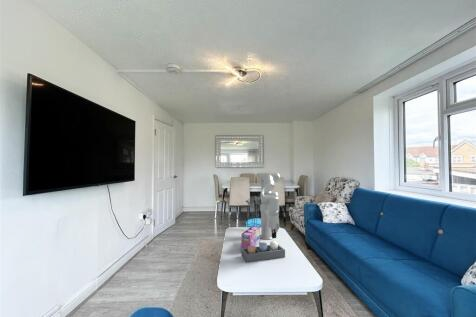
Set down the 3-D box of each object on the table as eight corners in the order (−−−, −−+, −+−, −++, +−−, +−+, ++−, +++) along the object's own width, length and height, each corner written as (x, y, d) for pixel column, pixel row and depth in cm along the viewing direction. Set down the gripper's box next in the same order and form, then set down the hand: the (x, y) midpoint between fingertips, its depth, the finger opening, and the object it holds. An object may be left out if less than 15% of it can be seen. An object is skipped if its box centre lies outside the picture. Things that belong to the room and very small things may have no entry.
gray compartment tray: (241, 255, 166) (241, 248, 167) (277, 251, 175) (277, 244, 175) (246, 262, 155) (246, 254, 155) (285, 257, 164) (285, 249, 164)
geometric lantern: (252, 227, 241) (253, 194, 241) (264, 230, 231) (265, 196, 231) (243, 230, 229) (244, 196, 229) (256, 233, 219) (257, 198, 219)
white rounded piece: (269, 249, 170) (268, 241, 170) (275, 248, 171) (275, 240, 171) (272, 252, 164) (272, 244, 164) (279, 251, 166) (279, 243, 166)
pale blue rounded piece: (258, 250, 167) (258, 242, 167) (264, 249, 169) (264, 241, 169) (260, 253, 162) (260, 245, 162) (268, 252, 163) (267, 244, 163)
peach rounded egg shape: (246, 254, 164) (246, 245, 164) (253, 253, 166) (253, 245, 166) (249, 257, 159) (249, 248, 159) (256, 256, 161) (256, 247, 161)
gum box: (252, 241, 197) (252, 225, 198) (260, 242, 194) (260, 227, 194) (241, 251, 176) (240, 233, 176) (250, 252, 172) (250, 235, 173)
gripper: (265, 211, 174) (265, 235, 174) (273, 215, 160) (273, 241, 159) (273, 211, 176) (274, 234, 176) (283, 215, 162) (283, 240, 162)
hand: (274, 237), depth 168 cm, fingers closed
